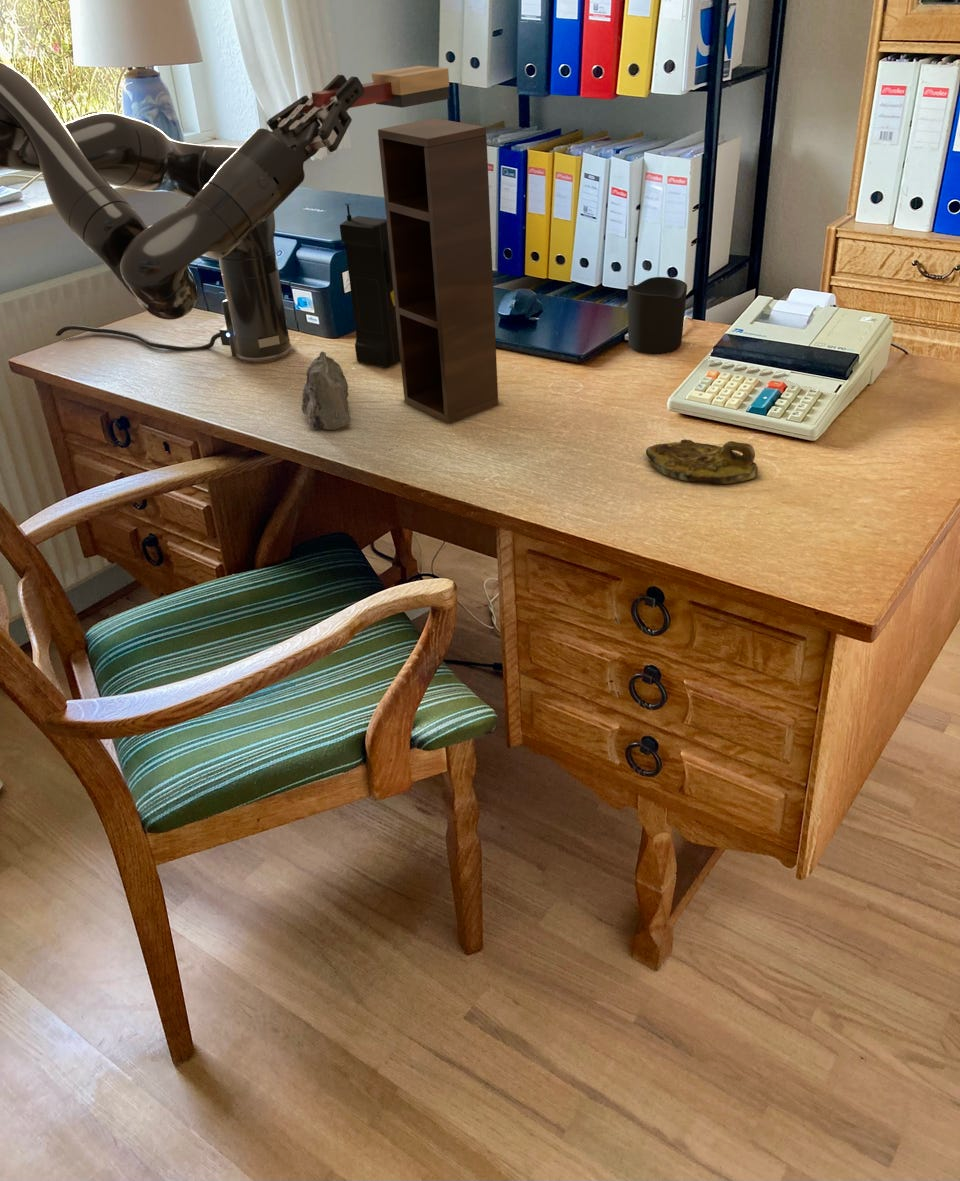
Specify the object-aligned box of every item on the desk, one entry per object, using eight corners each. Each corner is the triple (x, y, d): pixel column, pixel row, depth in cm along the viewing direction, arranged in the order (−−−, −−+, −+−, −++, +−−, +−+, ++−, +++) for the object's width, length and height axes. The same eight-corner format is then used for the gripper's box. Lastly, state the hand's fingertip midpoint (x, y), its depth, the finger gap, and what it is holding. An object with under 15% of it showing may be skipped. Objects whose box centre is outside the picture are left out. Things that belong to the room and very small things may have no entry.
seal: (633, 479, 134) (748, 498, 128) (633, 449, 131) (750, 466, 125) (655, 442, 140) (766, 458, 135) (655, 412, 137) (768, 427, 132)
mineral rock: (329, 391, 161) (320, 329, 156) (387, 401, 157) (380, 338, 151) (279, 424, 152) (268, 359, 146) (339, 436, 147) (330, 369, 142)
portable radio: (414, 357, 171) (400, 202, 157) (393, 369, 167) (376, 211, 153) (377, 350, 175) (359, 197, 161) (355, 362, 171) (335, 206, 157)
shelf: (404, 402, 156) (377, 129, 135) (453, 384, 161) (434, 118, 139) (448, 424, 149) (427, 139, 127) (498, 404, 154) (486, 126, 132)
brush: (306, 116, 125) (302, 84, 123) (422, 95, 134) (419, 65, 132) (333, 120, 121) (329, 88, 119) (450, 98, 130) (448, 68, 128)
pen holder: (687, 354, 166) (691, 293, 161) (629, 357, 167) (631, 296, 161) (678, 334, 174) (682, 275, 168) (623, 337, 174) (624, 278, 169)
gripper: (246, 197, 128) (337, 103, 131) (304, 215, 119) (401, 114, 122) (208, 146, 123) (305, 50, 126) (266, 161, 114) (369, 57, 116)
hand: (352, 82), depth 124 cm, fingers closed on brush, 2 cm apart
